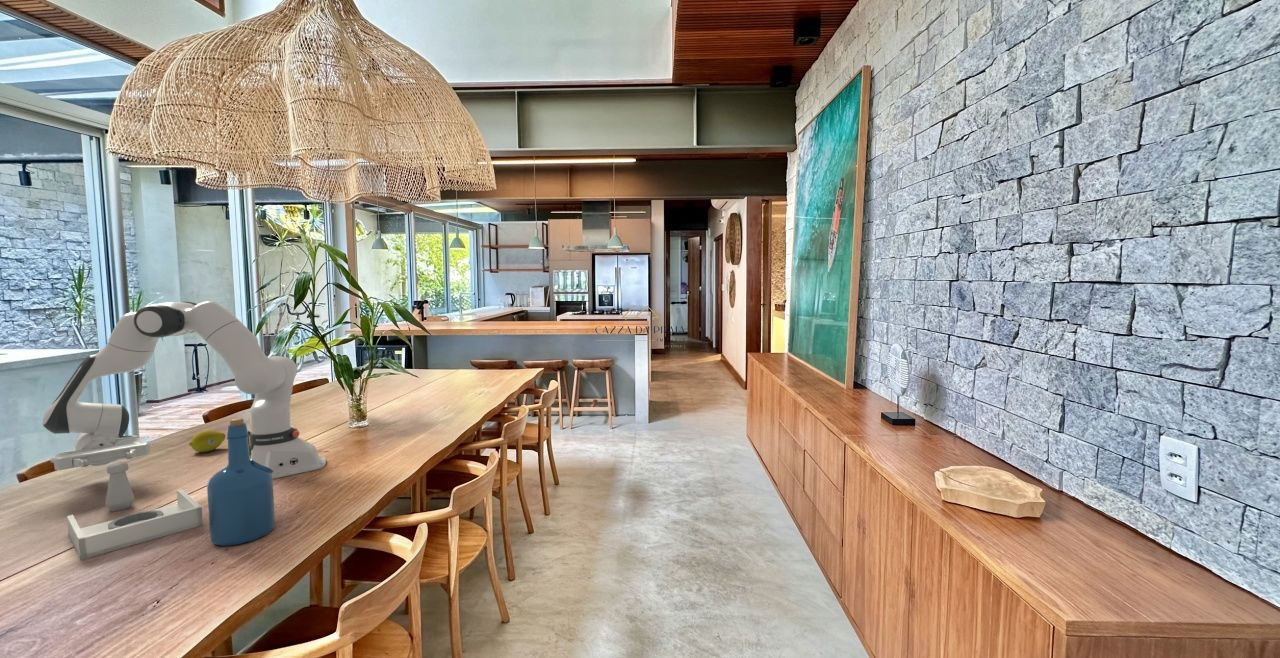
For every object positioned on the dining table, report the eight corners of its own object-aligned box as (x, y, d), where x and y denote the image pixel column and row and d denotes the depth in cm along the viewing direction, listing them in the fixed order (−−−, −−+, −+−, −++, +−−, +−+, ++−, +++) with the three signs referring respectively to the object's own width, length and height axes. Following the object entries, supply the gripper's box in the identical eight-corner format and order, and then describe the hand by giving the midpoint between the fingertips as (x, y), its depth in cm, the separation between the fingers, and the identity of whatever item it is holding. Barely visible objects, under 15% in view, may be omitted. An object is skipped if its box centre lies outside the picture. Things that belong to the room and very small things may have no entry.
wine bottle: (222, 553, 121) (214, 429, 118) (200, 539, 128) (192, 421, 125) (287, 530, 132) (281, 416, 130) (263, 518, 139) (257, 410, 137)
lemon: (190, 456, 190) (189, 435, 190) (188, 451, 196) (187, 431, 195) (227, 450, 198) (226, 430, 197) (225, 445, 203) (223, 426, 203)
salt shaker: (116, 513, 142) (112, 468, 141) (100, 511, 143) (96, 466, 142) (140, 504, 148) (137, 461, 147) (124, 503, 149) (121, 459, 148)
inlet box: (68, 535, 130) (67, 516, 129) (182, 505, 147) (181, 489, 147) (80, 560, 118) (78, 539, 117) (202, 525, 135) (201, 506, 135)
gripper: (48, 448, 151) (54, 458, 143) (143, 434, 168) (153, 442, 160) (50, 469, 152) (55, 480, 144) (144, 452, 168) (154, 461, 160)
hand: (108, 460), depth 152 cm, fingers open, 8 cm apart
